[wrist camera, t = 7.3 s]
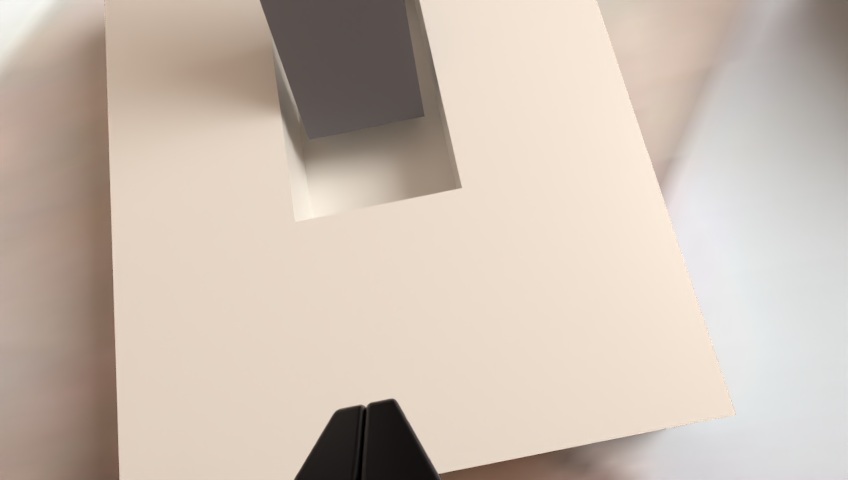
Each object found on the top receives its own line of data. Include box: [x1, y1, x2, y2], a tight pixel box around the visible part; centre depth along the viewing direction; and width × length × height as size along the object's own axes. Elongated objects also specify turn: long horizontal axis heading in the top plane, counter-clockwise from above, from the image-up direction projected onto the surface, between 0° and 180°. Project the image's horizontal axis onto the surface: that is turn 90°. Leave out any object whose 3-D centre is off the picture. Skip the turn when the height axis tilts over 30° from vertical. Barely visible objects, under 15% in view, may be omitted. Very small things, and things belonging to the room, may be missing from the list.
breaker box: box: [104, 0, 736, 480], centre depth 19 cm, size 20×16×4 cm
